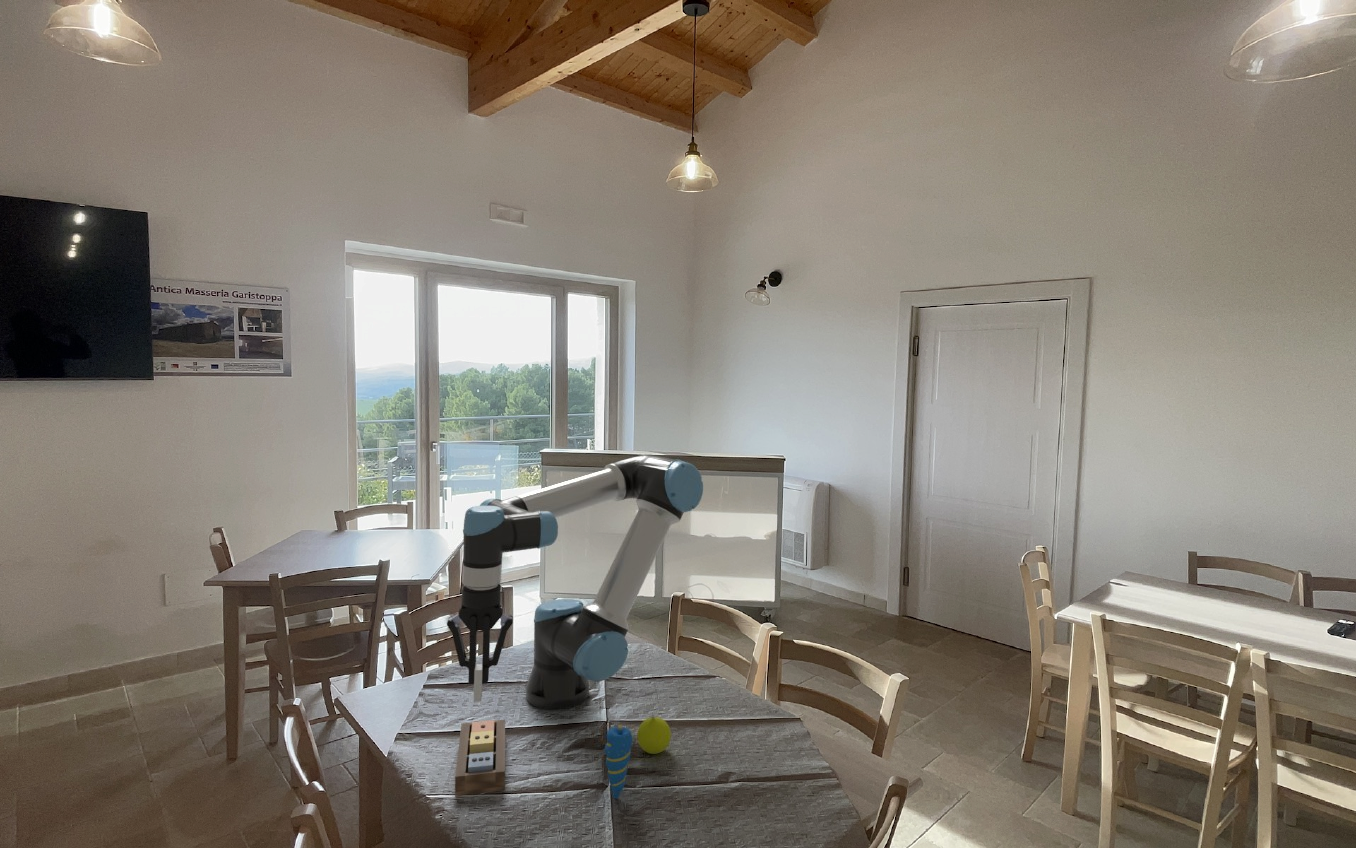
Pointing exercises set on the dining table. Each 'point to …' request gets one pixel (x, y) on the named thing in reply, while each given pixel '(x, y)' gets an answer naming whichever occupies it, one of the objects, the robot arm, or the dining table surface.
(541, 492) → the robot arm
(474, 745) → the tile two
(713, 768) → the dining table surface
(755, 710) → the dining table surface
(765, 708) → the dining table surface
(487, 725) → the tile one
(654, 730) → the yellow pointed oval
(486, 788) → the key strip
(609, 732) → the ornament
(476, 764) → the tile three
